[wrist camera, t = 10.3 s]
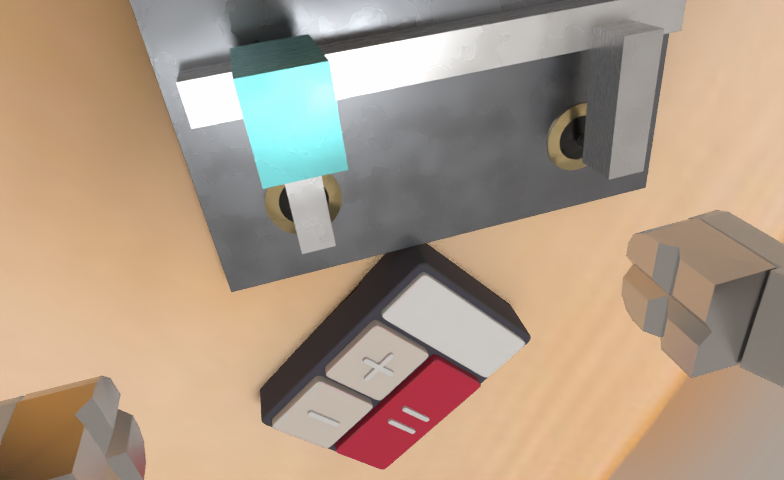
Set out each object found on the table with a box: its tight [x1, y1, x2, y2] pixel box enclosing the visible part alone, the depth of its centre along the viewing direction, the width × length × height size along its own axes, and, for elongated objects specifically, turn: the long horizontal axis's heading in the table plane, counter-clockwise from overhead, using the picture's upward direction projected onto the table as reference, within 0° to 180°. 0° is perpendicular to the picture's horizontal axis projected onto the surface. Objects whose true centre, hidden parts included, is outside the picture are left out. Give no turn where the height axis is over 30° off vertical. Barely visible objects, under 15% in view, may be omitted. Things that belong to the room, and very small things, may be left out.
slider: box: [230, 34, 348, 254], centre depth 23 cm, size 3×9×7 cm, turn 7°
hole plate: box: [129, 0, 686, 292], centre depth 27 cm, size 26×16×6 cm, turn 97°
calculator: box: [260, 243, 531, 469], centre depth 36 cm, size 11×4×15 cm
